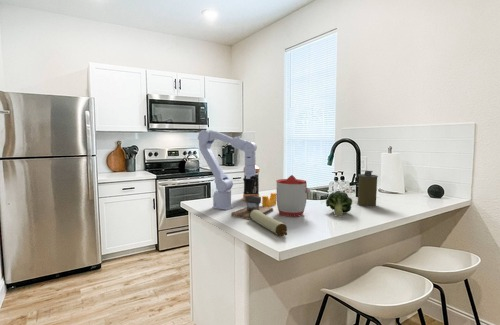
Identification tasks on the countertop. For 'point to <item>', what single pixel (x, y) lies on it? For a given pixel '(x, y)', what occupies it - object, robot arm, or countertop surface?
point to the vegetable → (339, 203)
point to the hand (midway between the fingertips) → (250, 190)
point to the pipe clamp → (269, 200)
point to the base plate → (245, 214)
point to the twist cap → (252, 202)
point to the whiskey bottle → (256, 187)
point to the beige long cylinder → (268, 222)
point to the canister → (367, 189)
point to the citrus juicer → (291, 196)
